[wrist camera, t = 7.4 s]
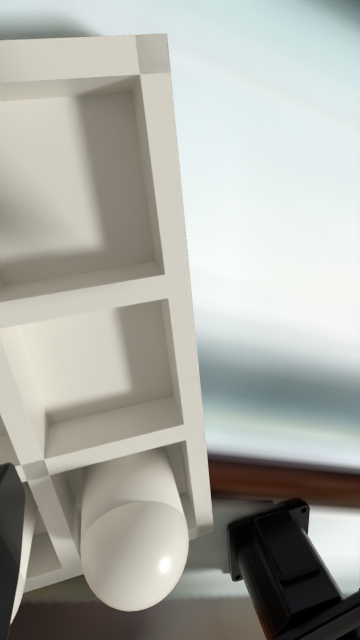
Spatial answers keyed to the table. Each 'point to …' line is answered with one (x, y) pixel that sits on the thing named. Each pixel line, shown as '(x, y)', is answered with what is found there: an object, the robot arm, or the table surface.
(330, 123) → the table surface
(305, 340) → the table surface
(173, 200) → the carton
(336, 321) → the table surface
